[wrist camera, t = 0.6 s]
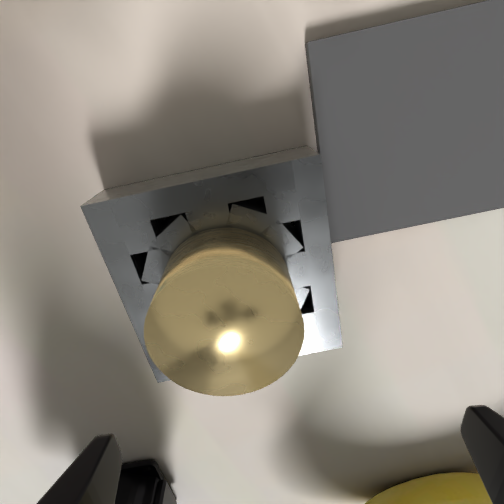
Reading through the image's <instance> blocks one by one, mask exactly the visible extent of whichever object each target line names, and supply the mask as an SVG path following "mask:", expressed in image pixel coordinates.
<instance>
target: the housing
mask: <svg viewBox="0 0 504 504" xmlns="http://www.w3.org/2000/svg"><path fill="white" fill-rule="evenodd" d="M261 196H262V197H261ZM81 209H82V211H83V213H84V215H85V218H86V220H87V222H88V225H89V227H90V229H91V231H92V234H93V236H94V238H95V241H96V243H97V245H98V247H99V250H100V252H101V254H102V257H103V259H104V261H105V263H106V266H107V268H108V270H109V273H110V275H111V277H112V279H113V282H114V284H115V286H116V288H117V291H118V293H119V295H120V298H121V300H122V302H123V304H124V307H125V309H126V311H127V314H128V316H129V318H130V320H131V323H132V325H133V327H134V330H135V332H136V334H137V336H138V339H139V341H140V343H141V346H142V348H143V350H144V352H145V355H146V357H147V359H148V362H149V364H150V366H151V368H152V371H153V373H154V375H155V378H156V380H157V382H164V381H169V380H170V379H169V378H168V377H167V376H165V375H164V374H163V373H162V372H161V371H160V370H159V369H158V368H157V366H156V365H155V364H154V362H153V361H152V359H151V357H150V355H149V354H148V351H147V348H146V345H145V340H144V323H145V318H146V315H147V312H148V309H149V307H150V304H151V302H152V299H153V297H154V294H155V292H156V290H157V287H158V285H159V282H160V280H161V277H162V275H163V272H164V270H165V268H166V265H167V263H168V261H169V259H170V257H171V256H172V254H173V253H174V251H175V250H176V249H177V248H178V247H179V246H180V245H181V244H182V243H183V242H185V241H186V240H187V239H189V238H191V237H192V236H194V235H196V234H198V233H201V232H203V231H207V230H210V229H216V228H237V229H242V230H246V231H249V232H252V233H255V234H257V235H259V236H261V237H262V238H264V239H265V240H267V241H268V242H270V243H271V244H272V245H273V246H274V247H275V248H276V249H277V250H278V252H279V253H280V254H281V256H282V257H283V259H284V261H285V263H286V265H287V268H288V271H289V274H290V278H291V281H292V284H293V287H294V291H295V294H296V297H297V300H298V303H299V307H300V310H301V313H302V317H303V321H304V329H305V332H304V341H303V345H302V349H301V351H300V354H299V356H300V355H305V354H310V353H315V352H321V351H326V350H331V349H336V348H341V347H343V345H342V336H341V327H340V318H339V310H338V301H337V292H336V284H335V275H334V266H333V257H332V249H331V240H330V231H329V223H328V214H327V205H326V196H325V188H324V179H323V170H322V162H321V154H320V153H318V152H317V151H315V150H313V149H312V148H310V147H309V146H303V147H298V148H293V149H289V150H284V151H280V152H275V153H271V154H266V155H261V156H257V157H252V158H248V159H243V160H238V161H234V162H229V163H225V164H220V165H216V166H211V167H206V168H202V169H197V170H193V171H188V172H183V173H179V174H174V175H170V176H165V177H160V178H156V179H151V180H147V181H142V182H138V183H133V184H128V185H124V186H119V187H115V188H110V189H105V190H103V191H102V192H100V193H99V194H97V195H96V196H94V197H93V198H92V199H90V200H89V201H87V202H86V203H84V204H83V205H82V206H81ZM167 216H169V217H167ZM291 221H294V224H295V228H294V226H293V225H292V224H291V223H290V222H291Z"/></svg>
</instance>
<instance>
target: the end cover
mask: <svg viewBox="0 0 504 504" xmlns="http://www.w3.org/2000/svg"><path fill="white" fill-rule="evenodd" d="M304 332H305V329H304V321H303V317H302V313H301V310H300V307H299V303H298V300H297V297H296V294H295V291H294V287H293V284H292V281H291V278H290V274H289V271H288V268H287V265H286V263H285V261H284V259H283V257H282V256H281V254H280V253H279V252H278V250H277V249H276V248H275V247H274V246H273V245H272V244H271V243H270V242H268V241H267V240H265V239H264V238H262V237H261V236H259V235H257V234H255V233H252V232H249V231H246V230H242V229H237V228H216V229H210V230H207V231H203V232H201V233H198V234H196V235H194V236H192V237H191V238H189V239H187V240H186V241H185V242H183V243H182V244H181V245H180V246H179V247H178V248H177V249H176V250H175V251H174V253H173V254H172V256H171V257H170V259H169V261H168V263H167V265H166V268H165V270H164V272H163V275H162V277H161V280H160V282H159V285H158V287H157V290H156V292H155V294H154V297H153V299H152V302H151V304H150V307H149V309H148V312H147V315H146V318H145V323H144V340H145V345H146V348H147V351H148V354H149V355H150V357H151V359H152V361H153V362H154V364H155V365H156V366H157V368H158V369H159V370H160V371H161V372H162V373H163V374H164V375H165V376H167V377H168V378H169V379H170V380H172V381H173V382H175V383H176V384H178V385H180V386H182V387H184V388H186V389H189V390H192V391H194V392H198V393H202V394H207V395H213V396H234V395H241V394H246V393H250V392H253V391H256V390H259V389H261V388H264V387H266V386H268V385H270V384H271V383H273V382H275V381H276V380H278V379H279V378H280V377H281V376H283V375H284V374H285V373H286V372H287V371H288V370H289V369H290V368H291V366H292V365H293V364H294V362H295V361H296V359H297V357H298V356H299V354H300V351H301V349H302V345H303V341H304Z"/></svg>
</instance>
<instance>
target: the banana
mask: <svg viewBox="0 0 504 504" xmlns="http://www.w3.org/2000/svg"><path fill="white" fill-rule="evenodd" d="M365 504H493V503H492V501H491V499H490V497H489V495H488V493H487V491H486V488H485V486H484V484H483V482H482V480H481V477H480V475H479V474H478V473H467V472H455V473H442V474H434V475H430V476H425V477H421V478H417V479H413V480H410V481H407V482H404V483H402V484H399V485H396V486H393V487H391V488H389V489H387V490H385V491H383V492H381V493H379V494H377V495H376V496H374V497H373V498H371V499H370V500H369V501H367V502H366V503H365Z"/></svg>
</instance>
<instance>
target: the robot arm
mask: <svg viewBox="0 0 504 504" xmlns="http://www.w3.org/2000/svg"><path fill="white" fill-rule="evenodd" d="M461 434H462V437H463V439H464V442H465V444H466V446H467V448H468V451H469V453H470V455H471V457H472V460H473V462H474V464H475V466H476V468H477V471H478V473H479V475H480V477H481V480H482V482H483V484H484V486H485V488H486V491H487V493H488V495H489V497H490V499H491V501H492V503H493V504H504V418H503V417H502V416H501V415H499V414H498V413H496V412H495V411H493V410H492V409H490V408H489V407H487V406H484V405H475V406H469V407H467V408H466V411H465V414H464V418H463V421H462V424H461ZM37 504H177V502H176V500H175V497H174V495H173V493H172V491H171V489H170V487H169V485H168V483H167V481H166V480H165V479H164V477H163V475H162V473H161V471H160V469H159V467H158V465H157V463H156V462H155V461H154V460H145V461H139V462H134V463H128V464H123V465H122V454H121V451H120V448H119V445H118V443H117V440H116V437H115V436H114V435H113V434H104V435H98V436H96V437H95V438H94V439H93V440H92V441H91V442H90V443H89V445H88V446H87V447H86V448H85V449H84V450H83V451H82V453H81V454H80V455H79V456H78V457H77V458H76V459H75V461H74V462H73V463H72V464H71V465H70V466H69V467H68V469H67V470H66V471H65V472H64V473H63V474H62V475H61V476H60V478H59V479H58V480H57V481H56V482H55V483H54V484H53V486H52V487H51V488H50V489H49V490H48V491H47V492H46V494H45V495H44V496H43V497H42V498H41V499H40V500H39V502H38V503H37Z"/></svg>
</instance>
